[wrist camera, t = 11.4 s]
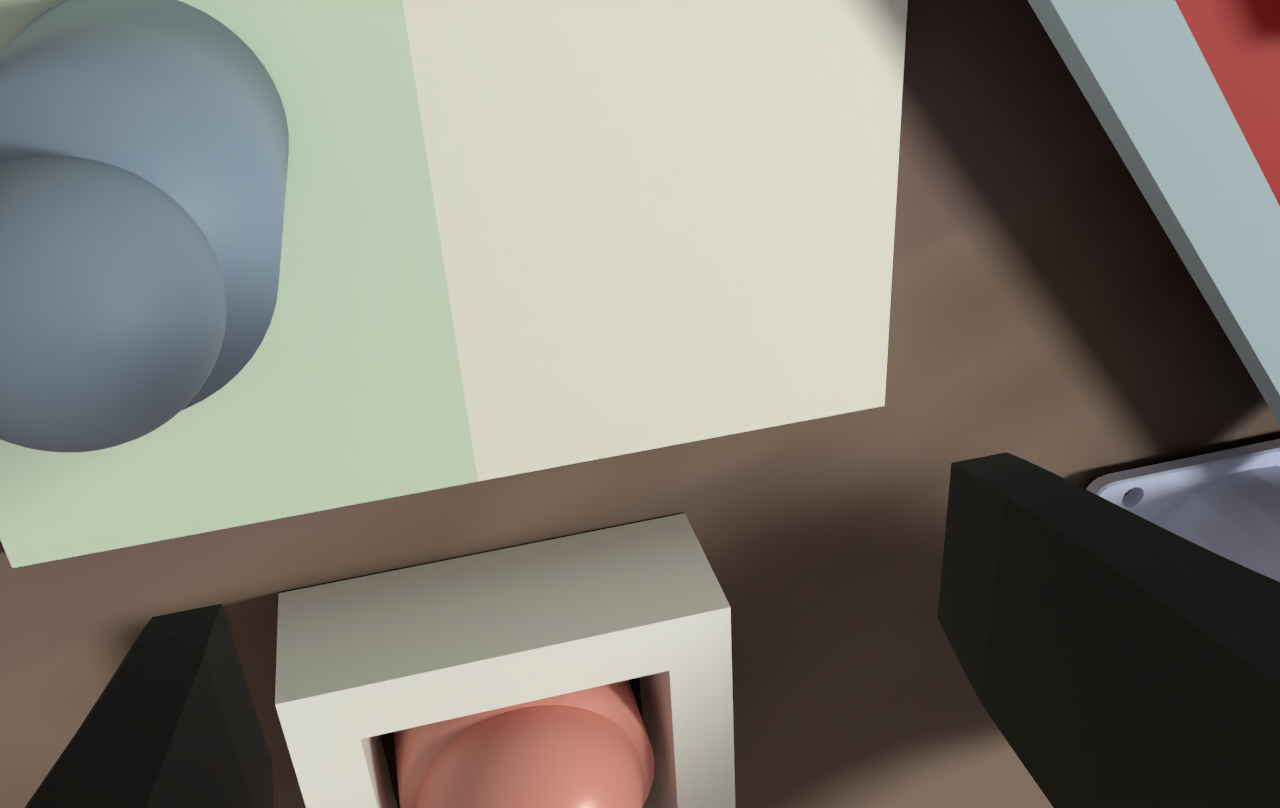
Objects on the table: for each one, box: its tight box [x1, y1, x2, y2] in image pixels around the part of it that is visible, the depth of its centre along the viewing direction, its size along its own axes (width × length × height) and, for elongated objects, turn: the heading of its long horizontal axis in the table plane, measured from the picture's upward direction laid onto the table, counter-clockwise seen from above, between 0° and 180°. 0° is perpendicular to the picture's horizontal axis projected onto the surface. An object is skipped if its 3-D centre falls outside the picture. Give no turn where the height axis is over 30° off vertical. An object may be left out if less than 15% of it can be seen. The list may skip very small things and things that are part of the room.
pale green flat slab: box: [0, 0, 908, 568], centre depth 18 cm, size 16×14×1 cm
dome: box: [393, 680, 655, 808], centre depth 23 cm, size 5×5×4 cm
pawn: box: [0, 0, 289, 453], centre depth 14 cm, size 4×4×8 cm
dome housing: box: [275, 513, 735, 808], centre depth 23 cm, size 8×8×3 cm
